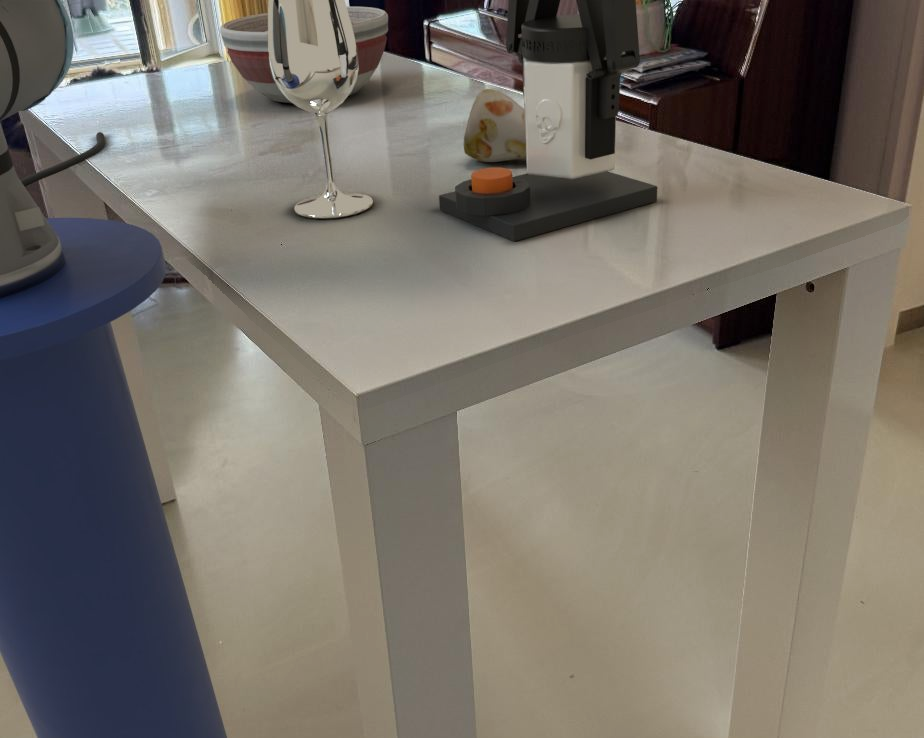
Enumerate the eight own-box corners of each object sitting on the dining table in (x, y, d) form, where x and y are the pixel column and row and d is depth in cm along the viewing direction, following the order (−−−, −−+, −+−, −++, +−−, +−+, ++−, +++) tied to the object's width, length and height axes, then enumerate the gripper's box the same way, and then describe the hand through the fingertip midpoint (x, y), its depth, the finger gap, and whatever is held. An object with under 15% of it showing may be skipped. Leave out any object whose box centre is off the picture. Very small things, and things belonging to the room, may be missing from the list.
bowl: (200, 105, 138) (185, 27, 132) (319, 75, 152) (310, 3, 146) (308, 122, 125) (296, 36, 119) (428, 87, 139) (422, 9, 133)
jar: (504, 174, 88) (499, 28, 82) (545, 151, 94) (544, 13, 87) (594, 183, 84) (596, 30, 78) (632, 159, 90) (637, 14, 83)
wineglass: (368, 191, 97) (342, -38, 86) (379, 213, 91) (353, -31, 80) (290, 200, 96) (253, -30, 85) (296, 224, 90) (257, -22, 79)
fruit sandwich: (560, 173, 99) (507, 86, 94) (486, 207, 105) (434, 127, 100) (581, 137, 103) (531, 52, 98) (509, 171, 110) (460, 93, 105)
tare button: (464, 190, 86) (463, 173, 85) (497, 182, 88) (496, 165, 87) (487, 199, 84) (486, 181, 83) (520, 190, 85) (520, 172, 84)
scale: (428, 213, 90) (425, 180, 89) (575, 175, 97) (575, 144, 96) (502, 245, 82) (500, 209, 80) (657, 201, 89) (658, 167, 87)
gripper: (701, -168, 70) (680, 160, 82) (528, -154, 84) (533, 121, 97) (620, -162, 66) (611, 178, 79) (455, -149, 81) (471, 135, 94)
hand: (568, 146), depth 88 cm, fingers closed on jar, 8 cm apart
